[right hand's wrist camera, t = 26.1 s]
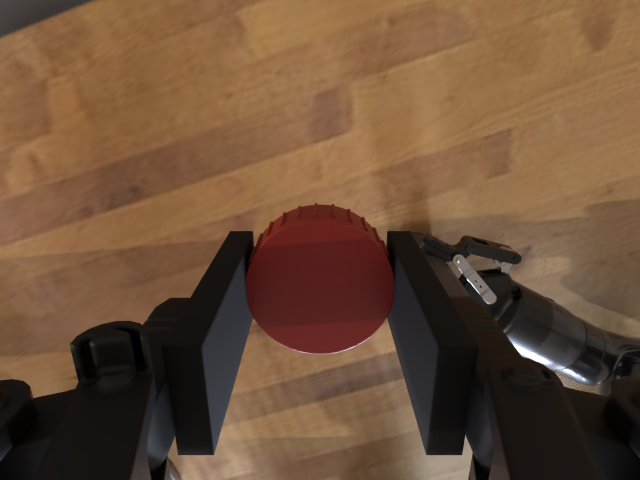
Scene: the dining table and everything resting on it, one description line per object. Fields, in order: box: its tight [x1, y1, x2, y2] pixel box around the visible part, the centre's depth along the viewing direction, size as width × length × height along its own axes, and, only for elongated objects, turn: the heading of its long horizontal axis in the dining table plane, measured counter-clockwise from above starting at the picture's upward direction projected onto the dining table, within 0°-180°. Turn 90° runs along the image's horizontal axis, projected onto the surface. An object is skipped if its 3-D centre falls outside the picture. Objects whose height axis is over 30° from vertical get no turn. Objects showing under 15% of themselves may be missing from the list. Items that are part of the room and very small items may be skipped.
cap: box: [246, 203, 394, 354], centre depth 14 cm, size 5×5×2 cm
